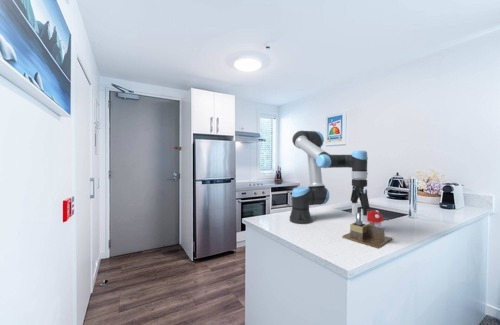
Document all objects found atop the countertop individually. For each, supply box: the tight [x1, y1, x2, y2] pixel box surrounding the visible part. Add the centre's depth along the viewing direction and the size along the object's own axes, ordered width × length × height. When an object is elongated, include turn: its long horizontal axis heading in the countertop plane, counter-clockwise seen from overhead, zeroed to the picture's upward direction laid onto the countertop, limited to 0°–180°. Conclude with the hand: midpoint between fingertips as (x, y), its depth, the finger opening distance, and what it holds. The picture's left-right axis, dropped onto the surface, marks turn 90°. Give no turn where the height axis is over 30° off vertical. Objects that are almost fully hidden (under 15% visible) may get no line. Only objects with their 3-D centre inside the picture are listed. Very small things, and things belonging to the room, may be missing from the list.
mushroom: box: [365, 209, 385, 228], centre depth 130 cm, size 11×11×12 cm
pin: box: [355, 211, 363, 227], centre depth 117 cm, size 3×3×13 cm
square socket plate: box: [341, 221, 393, 249], centre depth 116 cm, size 18×18×8 cm
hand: (359, 217), depth 117 cm, fingers open, 13 cm apart
